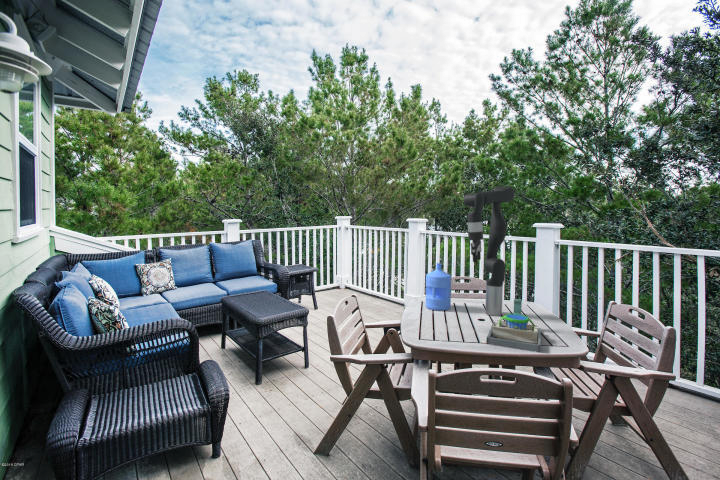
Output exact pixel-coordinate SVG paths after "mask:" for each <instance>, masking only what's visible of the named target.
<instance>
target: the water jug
mask: <svg viewBox="0 0 720 480" xmlns="http://www.w3.org/2000/svg"><path fill="white" fill-rule="evenodd" d="M435 267H436V269H435V270H433V271H431V272H427V274H426V276H425V281H426V282H425V287H426V288H425V308H426V309H429V310H431V311H437V312H438V311H440V312H441V311H447V310H448V311H449V310H450V309H451V307H452V304H451V302H452V301H451V298H452V297H451V296H452V274H450V273H447V272H446V271H444V270H442V263H439V262H438V263H435Z"/></svg>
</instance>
